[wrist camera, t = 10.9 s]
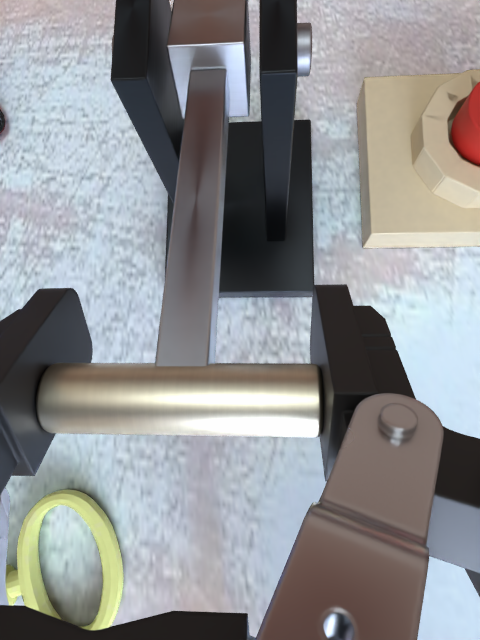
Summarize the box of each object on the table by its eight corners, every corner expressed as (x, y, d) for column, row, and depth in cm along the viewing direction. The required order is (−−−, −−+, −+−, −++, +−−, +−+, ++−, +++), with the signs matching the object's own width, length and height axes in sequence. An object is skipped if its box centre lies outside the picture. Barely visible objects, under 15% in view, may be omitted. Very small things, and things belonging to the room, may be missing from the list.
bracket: (312, 297, 25) (360, 170, 11) (168, 298, 25) (46, 178, 12) (309, 131, 26) (347, -155, 13) (175, 136, 27) (75, -133, 13)
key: (-114, 609, 23) (-152, 630, 21) (84, 470, 24) (66, 477, 22) (-51, 744, 22) (-85, 780, 20) (156, 593, 22) (145, 613, 20)
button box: (551, 95, 26) (601, 40, 22) (570, 245, 24) (628, 215, 20) (356, 103, 26) (371, 51, 22) (362, 248, 25) (379, 220, 21)
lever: (316, 448, 10) (328, 422, 7) (69, 444, 10) (13, 418, 8) (298, 58, 15) (302, -20, 13) (142, 66, 16) (121, -9, 14)
